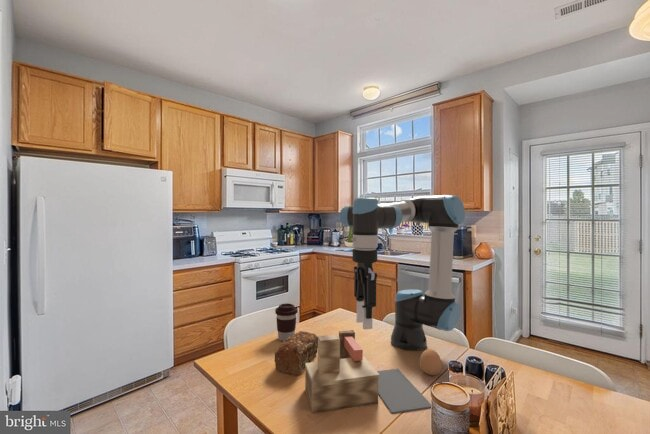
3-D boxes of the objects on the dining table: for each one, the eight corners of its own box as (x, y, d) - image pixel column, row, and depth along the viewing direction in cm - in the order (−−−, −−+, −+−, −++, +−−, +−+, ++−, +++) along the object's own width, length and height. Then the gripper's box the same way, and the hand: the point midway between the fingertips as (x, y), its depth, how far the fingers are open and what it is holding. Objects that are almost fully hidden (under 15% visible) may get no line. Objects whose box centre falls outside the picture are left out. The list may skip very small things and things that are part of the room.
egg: (425, 366, 113) (426, 343, 112) (445, 374, 107) (445, 350, 107) (415, 373, 107) (416, 349, 107) (435, 381, 102) (436, 356, 102)
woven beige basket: (354, 367, 111) (355, 329, 111) (378, 403, 90) (378, 357, 90) (300, 373, 106) (301, 334, 106) (312, 413, 85) (312, 363, 85)
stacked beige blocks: (364, 359, 101) (364, 326, 101) (379, 377, 89) (379, 340, 89) (305, 366, 96) (305, 331, 96) (313, 387, 84) (313, 348, 84)
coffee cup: (301, 337, 138) (301, 304, 138) (287, 345, 130) (288, 310, 130) (284, 332, 144) (285, 301, 143) (270, 339, 135) (270, 306, 135)
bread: (299, 378, 104) (300, 349, 104) (272, 372, 108) (272, 344, 108) (319, 354, 122) (319, 329, 122) (295, 350, 125) (295, 326, 125)
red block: (347, 340, 113) (347, 330, 113) (362, 360, 97) (362, 349, 97) (340, 340, 112) (340, 331, 112) (354, 361, 97) (354, 350, 97)
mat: (398, 369, 110) (398, 368, 110) (432, 407, 88) (432, 406, 88) (364, 373, 107) (364, 372, 107) (391, 413, 86) (391, 412, 86)
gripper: (344, 245, 100) (343, 316, 100) (363, 252, 82) (362, 337, 82) (366, 245, 101) (365, 314, 102) (389, 252, 84) (388, 335, 84)
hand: (364, 324), depth 92 cm, fingers open, 5 cm apart
